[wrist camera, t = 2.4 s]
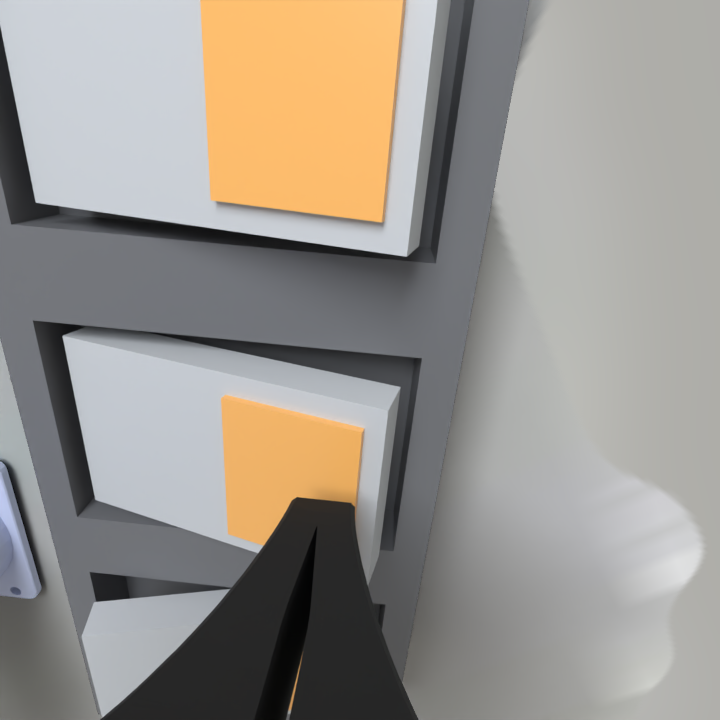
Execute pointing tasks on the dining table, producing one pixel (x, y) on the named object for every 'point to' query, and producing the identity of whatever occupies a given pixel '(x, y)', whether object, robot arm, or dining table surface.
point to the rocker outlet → (233, 112)
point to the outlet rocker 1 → (228, 435)
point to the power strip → (257, 331)
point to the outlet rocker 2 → (140, 639)
